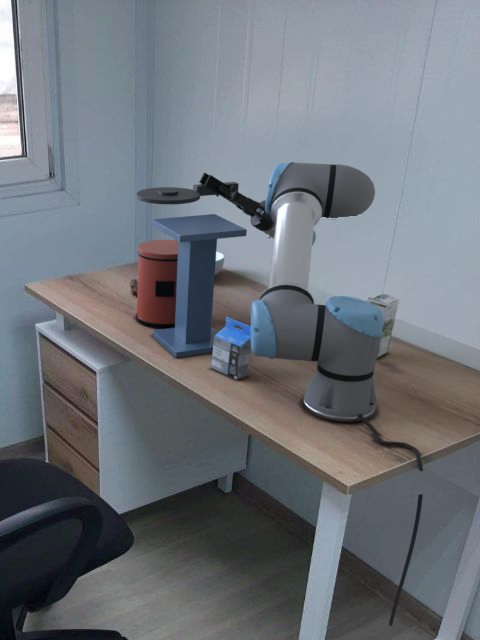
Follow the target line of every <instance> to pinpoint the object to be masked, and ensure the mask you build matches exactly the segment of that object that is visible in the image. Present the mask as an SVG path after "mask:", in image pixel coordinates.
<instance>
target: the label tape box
mask: <svg viewBox="0 0 480 640" xmlns="http://www.w3.org/2000/svg"><path fill="white" fill-rule="evenodd" d="M237 326H238V327H239V328H237ZM217 332H218V333H217V334H216V335H215V336H214V345H213V353H212V356H211V367H210V368H211V369H212V370H215V371H216V372H219V373H220V374H223V375H226V376H228V377H230V378H233V379H234V380H241V379H244V378H247V377H248V371H249V364H250V363H249V361H250V354H251V325H248V324H246V323H243V322H241V321H238V320H236V319H234V318H232V317H231V318H230V317H228V316H225V326H224V327H223V328H222V329H220V330H219V331H217Z"/></svg>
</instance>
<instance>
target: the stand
mask: <svg viewBox="0 0 480 640" xmlns="http://www.w3.org/2000/svg"><path fill="white" fill-rule="evenodd" d="M151 226H152V227H153V228H155V229H157V230H159V231H160V232H162V233H164V234H165V235H167V236H168V237H170V238H172V240H177V241H178V265H177V289H176V313H175V328H168V329H161V328H160V329H154V330H152V333H151V335H152V337H153V338H154V339H155V340H156V341H157V342H158V343H159V344H160V345H161V346H162V347H164V348H165V350H167V351H168V352H169V353H170V354H171V355H172V356H174V358H176V359H178V358H185V357H191V356H199V355H205V354H206V355H207V354H213V345H214V336H215V335H216V334H217V333H218V332H219V331H218V330H216V329H215V328H214V327H212V323H213V322H212V320H213V308H214V307H213V305H214V290H215V277H216V274H215V263H216V251H217V246H218V240H222V239H230V238H231V239H232V238H240V237H246V236H247V231H248V229H246V228H245V227H243V226H241V225H239V224H236V223H234V222H232V221H230V220H228V219H226V218H224V217H222V216H220V215H218V214H216V213H209V214H199V215H189V216H177V217H176V216H175V217H165V218H154V219H151Z"/></svg>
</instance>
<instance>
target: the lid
mask: <svg viewBox="0 0 480 640" xmlns="http://www.w3.org/2000/svg"><path fill="white" fill-rule="evenodd" d="M223 183H224V184H226V185H227V186H229V190H230V188H231V186H234V187H235V188H234V190H235V191H238V192H239V187H240V186H239V184H240V182H239V183H238V182H236V181H226V182H225V181H224V182H223ZM215 195H219V196H220V194H219V193H217V192H216V191H214V190H212V189H211V188H209V187H208V186H206V185H205V184H201V183H200V184H199V183H198V184H193V185H192V188H185V187H173V186H168V187H167V186H164V187H163V186H161V187H150V188H145V189H141V190H138V191H137V192H136V199H137V200H138V201H140V202H143V203H148V204H155V205H185V204H191V203H192V204H193V203H196V202H198V201H199V200H200V199H201V197H207V196H215Z"/></svg>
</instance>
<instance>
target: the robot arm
mask: <svg viewBox="0 0 480 640" xmlns="http://www.w3.org/2000/svg"><path fill="white" fill-rule="evenodd" d="M199 183H200V184H205V185H206V186H208V187H209V188H211V189H212V190H214V191H216V192H217V193H219V194H220V195H214V196H215V197H218V198H219V196H220V197H221V198H223V199H225V200H226V201H228V202H230V203H231V204H233V205H234V206H235V207H236V208H237V209H239V210H241V211H242V212H243V213H244V214H245V215H247V216H249V217H250V224H251V226H252V227H253V228H255V229H256V230H259V231H260V232H262V233H263V234H266V235H267V239H273V243H272V252H271V260H270V267H269V273H268V274H269V275H268V282H267V288H266V289H265V290H264V291H263V292H262V293H261V294H260V297H259V299H256V300H255V299H254V300H253V301H252V302H251V307H250V326H251V346H250V350H251V352H252V353H253V354H254V355H255V357H260V358H261V357H262V358H269V359H271V360H274V359H279V360H280V359H281V360H292V361H305V362H316V363H317V365H316V371H315V372H314V375H313V377H312V379H311V380H310V382H309V384H308V386H307V389H306V390H305V392H304V395H303V399H302V405H303V407H304V409H305V410H306V411H307V412H308V413H310V414H311V415H312V416H315V417H317V418H320V419H322V420H325V421H330V422H336V423H345V424H346V423H349V424H350V423H358V422H363V423H364V424H365V425H366V427H368V429H369V430H371V432H372V433H373V437H374V440H375V442H377V443H378V444H380V445H383V446H384V445H385V446H393V447H403V448H407V449H409V450H410V451H412V452H414V454H415V457H416V464H417V469H418V471H419V472H424V468H423V464H422V463H423V462H422V457H421V453H420V451H419V449H418V448H416V447H415V446H413V445H411V444H409V443H406V442H403V441H387V440H383V439H381V438H379V433H378V430H377V429H376V428H375V427H374V426H373V425H372V423H370V421H368V420H369V419H371V418H372V417H373V416H374V415H375V413H376V409H377V396H376V390H375V384H374V372H375V368H376V364H377V359H378V358H377V353H378V348H379V343H380V338H381V336H382V334H383V332H382V328H383V320H384V317H383V313H382V311H381V310H380V309H379V308H378V307H377V306H375V305H373V304H371V303H369V302H367V300H364V299H361V298H357V297H353V296H347V295H338V296H331V297H329V298H328V299H327V301H326V302H325V304H318V303H317V304H316V303H315V298H314V296H313V295H312V294H311V292H310V291H309V283H310V272H311V271H310V270H311V261H312V249H313V246H314V244H315V242H316V239H317V234H316V231H315V226H316V225H317V224H318V223H319V222H320V220H321V219H320V218H321V217H326V218H329V217H330V218H338V217H349V216H357V215H359V214H362V213H363V214H364V213H365V212H366V211H367V210H368V209H369V208H370V207H371V206H372V204H373V203H374V200H375V196H376V188H375V184H374V182H373V180H372V179H371V177H370V176H369V175H367V174H366V173H365V172H363V171H362V170H360V169H358V168H355V167H353V166H350V165H347V164H346V165H345V164H340V163H339V164H337V163H335V164H329V163H311V162H309V163H308V162H295V161H290V162H279V163H277V164H276V165H275V166H274V168H273V169H272V172H271V175H270V177H269V182H268V188H267V191H266V197H265V200H261V201H260V202H259V201H257V200H254V199H252V198H250V197H247V196H246V195H244V194H243V193H240V191H239V190H238V191H235V190H234V188H235V187H234V186H231V188H230V190H229V186H227V185H226V184H224V183H225V182H223V181H221V180H220V179H218V178H217V177H215V176H213V175H212V174H208V173H206V172H203V174H202V176H201V178H200V180H199V181H198V184H199ZM376 358H377V359H376ZM417 497H418V498H417V504H416V511H415V518H414V519H415V520H414V523H413V524H414V525H413V529H412V535H411V538H410V543H409V547H408V551H407V556H406V559H405V563H404V566H403V569H402V573H401V577H400V581H399V584H398V587H397V591H396V594H395V598H394V602H393V605H392V610H391V613H390V617H389V620H388V621H389V622H388V626H393V624H394V622H395V621H394V620H395V617H396V612H397V609H398V605H399V601H400V598H401V594H402V590H403V587H404V585H405V581H406V577H407V573H408V569H409V567H410V563H411V559H412V555H413V553H414V552H413V551H414V548H415V544H416V540H417V535H418V530H419V526H420V525H419V524H420V520H421V513H422V505H423V497H424V494H423V493H419V494H418V495H417Z"/></svg>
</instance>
